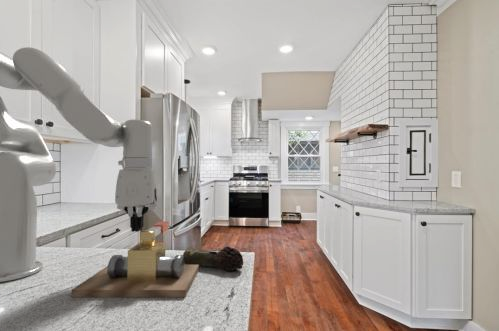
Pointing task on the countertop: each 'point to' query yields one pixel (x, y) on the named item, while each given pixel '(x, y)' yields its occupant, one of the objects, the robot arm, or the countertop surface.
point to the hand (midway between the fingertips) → (136, 230)
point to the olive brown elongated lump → (214, 258)
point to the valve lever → (153, 233)
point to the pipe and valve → (145, 264)
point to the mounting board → (136, 285)
